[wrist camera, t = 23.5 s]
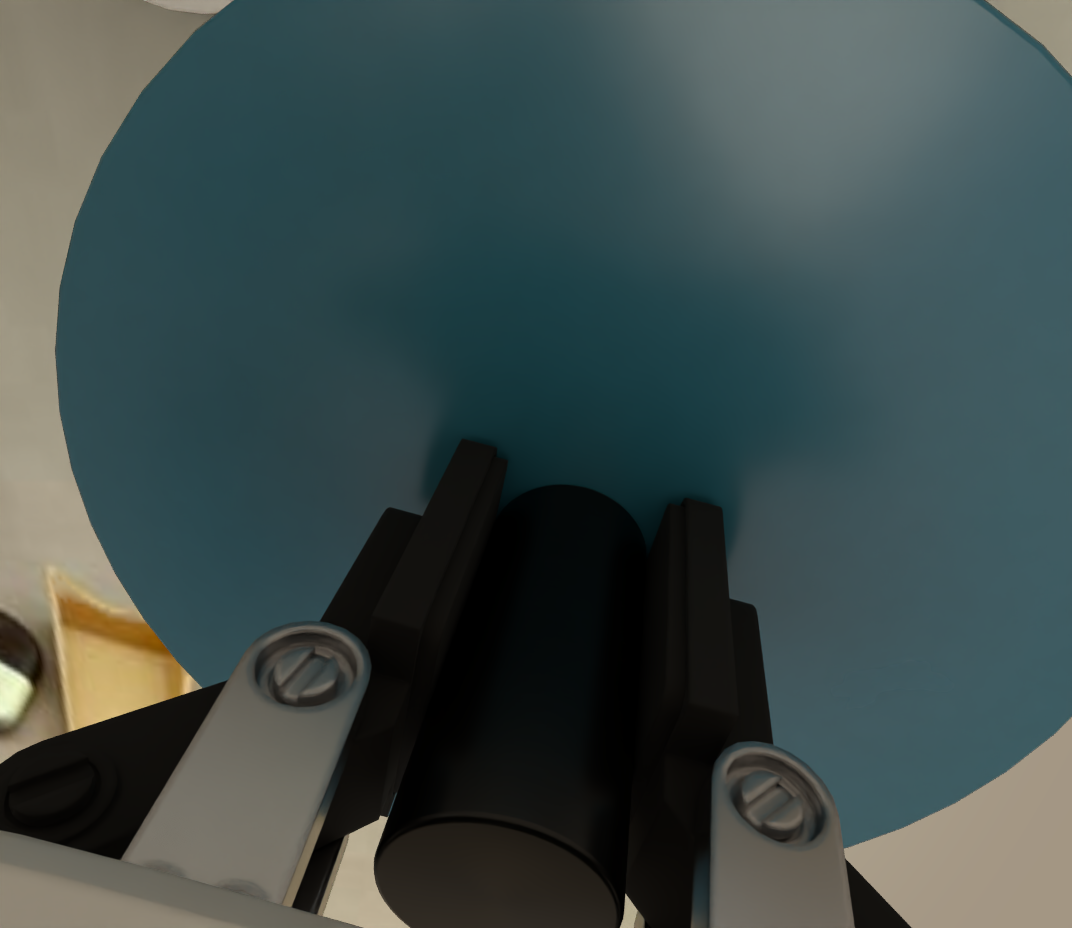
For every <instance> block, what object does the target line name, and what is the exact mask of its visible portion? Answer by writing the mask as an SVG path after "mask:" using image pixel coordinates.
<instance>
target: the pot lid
mask: <svg viewBox="0 0 1072 928" xmlns="http://www.w3.org/2000/svg"><path fill="white" fill-rule="evenodd" d="M55 356H56V370H57V383H58V397H59V411H60V416H61V421H62V426H63V430H64V435H65V440H66V444H67V449H68V454H69V459H70V463H71V468H72V471H73V474H74V477H75V480H76V483H77V486H78V489H79V491H80V494H81V497H82V500H83V503H84V506H85V509H86V512H87V514H88V517H89V520H90V523H91V525H92V527H93V529H94V531H95V533H96V535H97V537H98V539H99V542H100V544H101V546H102V548H103V550H104V552H105V554H106V556H107V558H108V560H109V562H110V564H111V566H112V568H113V570H114V572H115V574H116V576H117V577H118V579H119V580H120V582H121V584H122V585H123V587H124V588H125V590H126V592H127V593H128V595H129V596H130V598H131V599H132V601H133V603H134V604H135V606H136V607H137V609H138V611H139V612H140V614H141V615H142V617H143V619H144V620H145V621H146V622H147V624H148V625H149V626H150V628H151V629H152V630H153V631H154V633H155V634H156V635H157V636H158V638H159V639H160V640H161V642H162V643H163V644H164V645H165V647H166V648H167V649H168V650H169V652H170V653H171V654H172V656H173V657H174V658H175V659H176V661H177V662H178V663H179V664H180V665H181V666H182V667H183V668H184V669H185V670H186V671H187V672H188V673H189V674H190V675H191V677H192V678H193V679H194V680H195V681H196V682H197V683H198V684H199V685H200V686H201V687H202V688H205V687H208V686H211V685H214V684H217V683H220V682H224V681H227V680H228V679H229V678H230V676H231V674H232V673H233V671H234V669H235V668H236V666H237V664H238V663H239V661H240V659H241V658H242V656H243V654H244V653H245V651H246V650H247V649H248V648H249V647H250V645H251V644H252V643H253V642H254V641H255V640H256V639H257V638H258V637H260V636H261V635H263V634H264V633H266V632H268V631H269V630H271V629H273V628H275V627H278V626H281V625H284V624H287V623H290V622H300V621H309V620H310V621H318V622H319V621H320V620H321V618H322V616H323V615H324V613H325V611H326V609H327V608H328V606H329V604H330V603H331V601H332V599H333V598H334V596H335V594H336V592H337V591H338V589H339V587H340V586H341V584H342V582H343V581H344V579H345V577H346V575H347V574H348V572H349V570H350V569H351V567H352V565H353V564H354V562H355V560H356V558H357V557H358V555H359V553H360V552H361V550H362V548H363V547H364V545H365V543H366V541H367V540H368V538H369V536H370V535H371V533H372V531H373V529H374V528H375V526H376V524H377V523H378V521H379V519H380V518H381V516H382V514H383V513H384V511H385V510H386V509H387V508H389V507H392V508H395V509H399V510H403V511H406V512H410V513H414V514H418V515H421V516H423V514H424V512H425V510H426V508H427V506H428V504H429V502H430V500H431V498H432V496H433V494H434V492H435V490H436V488H437V486H438V484H439V482H440V480H441V478H442V476H443V474H444V472H445V470H446V468H447V466H448V464H449V462H450V460H451V458H452V456H453V454H454V452H455V451H456V449H457V447H458V445H459V443H460V441H461V439H467V440H471V441H474V442H478V443H482V444H486V445H489V446H493V447H497V455H496V457H498V458H502V459H505V460H508V466H507V471H506V475H505V480H504V484H503V489H502V493H501V498H500V502H499V507H498V511H497V516H496V520H495V524H494V527H493V530H492V533H491V535H490V538H489V541H488V544H487V547H486V549H485V552H484V555H483V558H482V560H481V563H480V566H479V569H478V572H477V574H476V577H475V580H474V583H473V585H472V588H471V591H470V594H469V597H468V599H467V602H466V605H465V608H464V610H463V613H462V616H461V619H460V622H459V624H458V627H457V630H456V633H455V635H454V638H453V641H452V644H451V646H450V649H449V652H448V655H447V658H446V660H445V663H444V666H443V669H442V671H441V674H440V677H439V680H438V683H437V685H436V688H435V691H434V694H433V696H432V699H431V702H430V705H429V708H428V710H427V713H426V716H425V718H424V720H423V723H422V725H421V728H420V731H419V734H418V737H417V739H416V742H415V745H414V748H413V750H412V753H411V756H410V759H409V761H408V764H407V767H406V770H405V773H404V775H403V778H402V781H401V784H400V786H399V789H398V792H397V793H396V795H395V798H394V801H393V803H392V806H391V809H390V812H389V814H388V816H389V817H388V820H387V822H386V825H385V828H384V831H383V833H382V836H381V839H380V842H379V845H378V847H377V850H376V854H375V857H374V875H375V881H376V885H377V887H378V890H379V892H380V894H381V896H382V898H383V899H384V901H385V903H386V904H387V905H388V906H389V908H390V909H391V910H392V911H393V912H394V913H395V914H396V915H397V917H398V918H399V919H400V920H402V921H403V922H404V923H405V924H406V925H408V926H409V927H410V928H620V925H621V923H622V920H623V915H624V905H625V889H626V873H627V857H628V842H629V826H630V810H631V794H632V778H633V762H634V747H635V731H636V715H637V699H638V683H639V667H640V652H641V636H642V620H643V604H644V588H645V572H646V561H647V559H648V556H649V553H650V550H651V548H652V545H653V542H654V539H655V537H656V534H657V531H658V529H659V526H660V523H661V520H662V518H663V515H664V512H665V510H666V507H667V505H668V504H669V503H671V504H675V505H679V506H680V505H681V503H682V501H683V499H684V498H689V499H693V500H697V501H701V502H705V503H708V504H712V505H716V506H720V507H721V508H722V511H723V522H724V535H725V547H726V560H727V572H728V585H729V597H730V599H734V600H738V601H741V602H745V603H749V604H753V606H754V607H755V608H756V611H757V615H758V622H759V630H760V638H761V646H762V654H763V663H764V671H765V679H766V687H767V695H768V703H769V711H770V719H771V727H772V735H773V744H774V745H775V746H777V747H779V748H782V749H784V750H786V751H789V752H791V753H792V754H794V755H795V756H796V757H798V758H799V759H801V760H802V761H803V762H805V763H806V764H808V765H809V766H810V767H811V768H812V770H813V771H814V772H815V773H816V774H817V775H818V776H819V777H820V778H821V779H822V780H823V782H824V783H825V785H826V786H827V788H828V790H829V791H830V793H831V795H832V796H833V798H834V801H835V805H836V808H837V811H838V814H839V820H840V827H841V834H842V841H843V848H848V847H851V846H854V845H856V844H859V843H862V842H865V841H868V840H870V839H873V838H876V837H879V836H881V835H884V834H887V833H890V832H893V831H895V830H898V829H901V828H904V827H906V826H908V825H910V824H912V823H914V822H916V821H918V820H921V819H923V818H925V817H927V816H929V815H931V814H933V813H935V812H938V811H940V810H942V809H944V808H946V807H948V806H950V805H952V804H954V803H956V802H958V801H959V800H961V799H963V798H964V797H966V796H968V795H969V794H971V793H973V792H974V791H976V790H978V789H979V788H981V787H982V786H984V785H986V784H987V783H989V782H991V781H992V780H994V779H996V778H997V777H999V776H1000V775H1002V774H1004V773H1005V772H1007V771H1008V770H1009V769H1011V768H1012V767H1013V766H1014V765H1016V764H1017V763H1018V762H1020V761H1021V760H1022V759H1023V758H1025V757H1026V756H1027V755H1029V754H1030V753H1031V752H1032V751H1034V750H1035V749H1036V748H1038V747H1039V746H1040V745H1041V744H1043V743H1044V742H1045V741H1047V740H1048V739H1049V738H1050V737H1052V736H1053V735H1054V734H1055V733H1056V732H1057V731H1058V730H1059V729H1060V728H1061V727H1062V726H1063V725H1064V724H1065V723H1066V722H1067V721H1068V720H1069V719H1070V718H1071V717H1072V76H1071V75H1070V74H1069V73H1068V72H1067V71H1066V70H1065V68H1064V67H1063V66H1062V65H1061V64H1060V63H1059V62H1058V61H1057V60H1056V59H1055V57H1054V56H1053V55H1052V54H1051V53H1050V52H1049V51H1048V50H1047V49H1046V47H1045V46H1044V45H1043V44H1041V43H1040V42H1039V41H1038V40H1036V39H1035V38H1034V37H1032V36H1031V35H1030V34H1029V33H1027V32H1026V31H1025V30H1023V29H1022V28H1021V27H1019V26H1018V25H1017V24H1016V23H1014V22H1013V21H1012V20H1010V19H1009V18H1008V17H1007V16H1005V15H1004V14H1003V13H1001V12H1000V11H999V10H997V9H996V8H995V7H994V6H992V5H991V4H990V3H988V2H987V1H986V0H233V1H231V2H230V3H229V4H228V5H226V6H225V7H224V8H223V9H221V10H220V11H219V12H218V13H216V14H215V15H214V16H213V17H212V18H210V19H209V20H208V21H207V22H205V23H204V24H203V25H202V26H200V27H199V28H198V29H197V30H196V31H195V32H194V33H193V34H192V35H191V36H190V37H189V38H188V40H187V41H186V42H185V43H184V44H183V45H182V46H181V47H180V49H179V50H178V51H177V52H176V53H175V54H174V55H173V57H172V58H171V59H170V60H169V61H168V62H167V63H166V64H165V66H164V67H163V68H162V69H161V70H160V71H159V72H158V74H157V75H156V76H155V77H154V78H153V79H152V80H151V81H150V83H149V84H148V85H147V86H146V87H145V88H144V89H143V90H142V92H141V94H140V95H139V97H138V99H137V100H136V102H135V103H134V105H133V107H132V108H131V110H130V111H129V113H128V115H127V116H126V118H125V120H124V121H123V123H122V124H121V126H120V128H119V129H118V131H117V132H116V134H115V136H114V137H113V139H112V141H111V142H110V144H109V145H108V147H107V149H106V150H105V152H104V153H103V155H102V157H101V159H100V162H99V164H98V167H97V169H96V171H95V174H94V176H93V179H92V181H91V184H90V186H89V189H88V191H87V194H86V196H85V198H84V201H83V203H82V206H81V208H80V211H79V213H78V216H77V218H76V220H75V223H74V228H73V232H72V236H71V241H70V245H69V249H68V254H67V258H66V262H65V267H64V271H63V275H62V280H61V284H60V291H59V305H58V318H57V332H56V346H55Z"/></svg>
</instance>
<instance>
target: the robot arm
mask: <svg viewBox="0 0 1072 928" xmlns="http://www.w3.org/2000/svg"><path fill="white" fill-rule="evenodd" d="M143 1H146V2H149V3H152V4H155V5H157V6H160V7H163V8H166V9H169V10H175V11H183V12H190V13H198V14H216V13H218V12H219V11H220V10H221V9H223V8H224V7H225V6H226V5H228V4H229V3H230V2H231V1H233V0H143ZM496 455H497V447H493V446H489V445H486V444H482V443H478V442H474V441H471V440H467V439H461V441H460V443H459V445H458V447H457V449H456V451H455V452H454V454H453V456H452V458H451V460H450V462H449V464H448V466H447V468H446V470H445V472H444V474H443V476H442V478H441V480H440V482H439V484H438V486H437V488H436V490H435V492H434V494H433V496H432V498H431V500H430V502H429V504H428V506H427V508H426V510H425V512H424V514H423V516H421V515H418V514H414V513H410V512H406V511H403V510H399V509H395V508H392V507H389V508H387V509H386V510H385V511H384V513H383V514H382V516H381V518H380V519H379V521H378V523H377V524H376V526H375V528H374V529H373V531H372V533H371V535H370V536H369V538H368V540H367V541H366V543H365V545H364V547H363V548H362V550H361V552H360V553H359V555H358V557H357V558H356V560H355V562H354V564H353V565H352V567H351V569H350V570H349V572H348V574H347V575H346V577H345V579H344V581H343V582H342V584H341V586H340V587H339V589H338V591H337V592H336V594H335V596H334V598H333V599H332V601H331V603H330V604H329V606H328V608H327V609H326V611H325V613H324V615H323V616H322V618H321V620H320V621H319V622H318V621H310V620H309V621H300V622H290V623H287V624H284V625H281V626H278V627H275V628H273V629H271V630H269V631H268V632H266V633H264V634H263V635H261V636H260V637H258V638H257V639H256V640H255V641H254V642H253V643H252V644H251V645H250V647H249V648H248V649H247V650H246V651H245V653H244V654H243V656H242V658H241V659H240V661H239V663H238V664H237V666H236V668H235V669H234V671H233V673H232V674H231V676H230V678H229V679H228V680H227V681H224V682H220V683H217V684H214V685H211V686H208V687H205V688H202V689H199V690H196V691H193V692H190V693H187V694H184V695H181V696H178V697H175V698H172V699H169V700H166V701H163V702H160V703H157V704H153V705H150V706H147V707H144V708H141V709H138V710H135V711H132V712H129V713H126V714H123V715H120V716H117V717H114V718H111V719H108V720H105V721H102V722H99V723H96V724H93V725H89V726H86V727H83V728H80V729H77V730H74V731H71V732H68V733H65V734H62V735H59V736H56V737H53V738H50V739H47V740H44V741H41V742H39V743H37V744H34V745H32V746H30V747H28V748H25V749H23V750H21V751H18V752H17V753H15V754H14V755H12V756H11V757H10V758H8V759H7V760H5V761H4V762H2V763H1V764H0V928H362V927H359V926H355V925H352V924H348V923H345V922H341V921H337V920H334V919H330V918H327V917H323V913H324V910H325V907H326V905H327V902H328V899H329V896H330V893H331V890H332V887H333V884H334V881H335V878H336V875H337V872H338V870H339V867H340V864H341V861H342V858H343V855H344V852H345V849H346V846H347V843H348V838H349V834H350V833H352V832H354V831H356V830H358V829H360V828H362V827H364V826H366V825H368V824H370V823H372V822H374V821H377V820H379V817H380V815H381V816H384V817H388V814H389V812H390V809H391V806H392V803H393V801H394V798H395V795H396V793H397V792H398V789H399V786H400V784H401V781H402V778H403V775H404V773H405V770H406V767H407V764H408V761H409V759H410V756H411V753H412V750H413V748H414V745H415V742H416V739H417V737H418V734H419V731H420V728H421V725H422V723H423V720H424V718H425V716H426V713H427V710H428V708H429V705H430V702H431V699H432V696H433V694H434V691H435V688H436V685H437V683H438V680H439V677H440V674H441V671H442V669H443V666H444V663H445V660H446V658H447V655H448V652H449V649H450V646H451V644H452V641H453V638H454V635H455V633H456V630H457V627H458V624H459V622H460V619H461V616H462V613H463V610H464V608H465V605H466V602H467V599H468V597H469V594H470V591H471V588H472V585H473V583H474V580H475V577H476V574H477V572H478V569H479V566H480V563H481V560H482V558H483V555H484V552H485V549H486V547H487V544H488V541H489V538H490V535H491V533H492V530H493V527H494V524H495V520H496V516H497V511H498V507H499V502H500V498H501V493H502V489H503V484H504V480H505V475H506V471H507V466H508V460H505V459H502V458H498V457H496ZM625 893H626V895H627V896H628V897H629V899H630V900H631V901H632V903H633V904H634V906H635V907H636V908H637V910H638V911H637V915H636V919H635V923H634V928H911V927H910V926H909V925H908V924H907V922H905V920H904V919H903V918H902V917H901V916H900V915H899V914H898V913H897V912H896V911H895V910H894V909H893V908H892V907H891V906H890V905H889V904H888V903H887V902H886V901H885V899H883V897H882V896H881V895H880V894H879V893H878V892H877V891H876V890H875V889H874V888H873V887H872V886H871V885H870V884H869V883H868V882H867V881H866V880H865V879H864V878H863V876H862V875H861V874H860V873H859V872H858V871H857V870H856V869H855V868H854V867H853V866H852V865H851V864H850V863H849V862H848V861H847V860H846V859H845V855H844V848H843V841H842V834H841V827H840V820H839V814H838V811H837V808H836V805H835V801H834V798H833V796H832V795H831V793H830V791H829V790H828V788H827V786H826V785H825V783H824V782H823V780H822V779H821V778H820V777H819V776H818V775H817V774H816V773H815V772H814V771H813V770H812V768H811V767H810V766H809V765H808V764H806V763H805V762H803V761H802V760H801V759H799V758H798V757H796V756H795V755H794V754H792V753H791V752H789V751H786V750H784V749H782V748H779V747H777V746H775V745H774V744H773V735H772V727H771V719H770V711H769V703H768V695H767V687H766V679H765V671H764V663H763V654H762V646H761V638H760V630H759V622H758V615H757V611H756V608H755V607H754V606H753V604H749V603H745V602H741V601H738V600H734V599H730V597H729V585H728V572H727V560H726V547H725V535H724V522H723V511H722V508H721V507H720V506H716V505H712V504H708V503H705V502H701V501H697V500H693V499H689V498H684V499H683V501H682V503H681V505H680V506H679V505H675V504H671V503H669V504H668V505H667V507H666V510H665V512H664V515H663V518H662V520H661V523H660V526H659V529H658V531H657V534H656V537H655V539H654V542H653V545H652V548H651V550H650V553H649V556H648V559H647V561H646V572H645V588H644V604H643V620H642V636H641V652H640V667H639V683H638V699H637V715H636V731H635V747H634V762H633V778H632V794H631V810H630V826H629V842H628V857H627V873H626V889H625Z"/></svg>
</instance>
